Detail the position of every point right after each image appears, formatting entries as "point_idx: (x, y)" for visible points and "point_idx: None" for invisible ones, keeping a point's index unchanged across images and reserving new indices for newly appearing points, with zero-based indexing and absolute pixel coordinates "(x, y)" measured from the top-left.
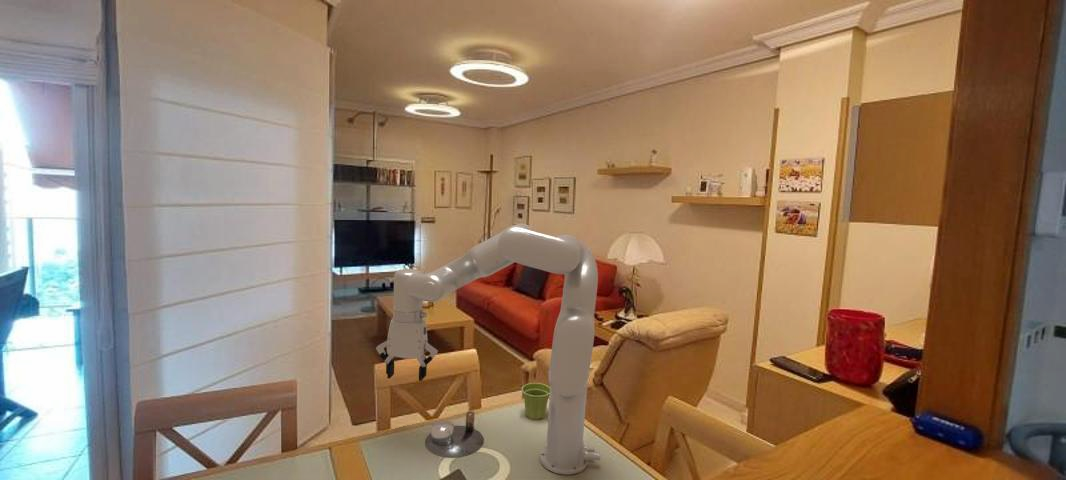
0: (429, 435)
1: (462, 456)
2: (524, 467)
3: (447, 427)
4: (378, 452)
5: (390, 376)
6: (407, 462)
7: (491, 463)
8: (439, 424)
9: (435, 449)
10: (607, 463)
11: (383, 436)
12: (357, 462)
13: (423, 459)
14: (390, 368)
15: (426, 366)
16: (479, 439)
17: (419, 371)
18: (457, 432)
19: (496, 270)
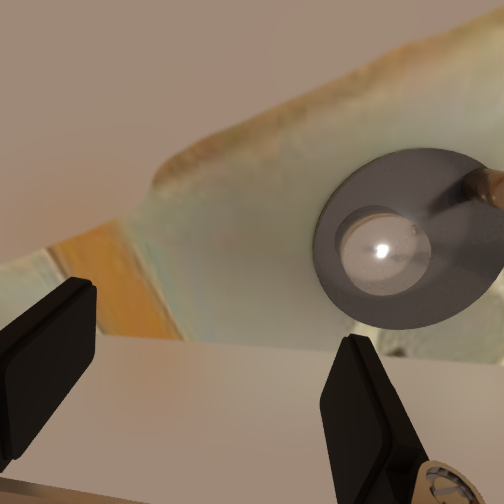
0: (329, 214)
1: (420, 325)
2: None
3: (404, 271)
4: (184, 269)
5: (88, 358)
6: (269, 316)
7: (491, 335)
8: (375, 249)
9: (346, 290)
10: None
11: (175, 185)
12: (143, 307)
13: (310, 307)
14: (42, 423)
15: (423, 460)
16: (495, 247)
17: (338, 478)
18: (429, 199)
19: None
